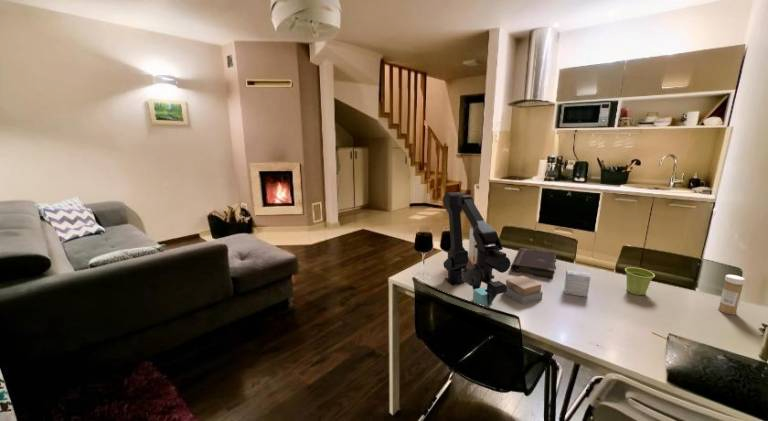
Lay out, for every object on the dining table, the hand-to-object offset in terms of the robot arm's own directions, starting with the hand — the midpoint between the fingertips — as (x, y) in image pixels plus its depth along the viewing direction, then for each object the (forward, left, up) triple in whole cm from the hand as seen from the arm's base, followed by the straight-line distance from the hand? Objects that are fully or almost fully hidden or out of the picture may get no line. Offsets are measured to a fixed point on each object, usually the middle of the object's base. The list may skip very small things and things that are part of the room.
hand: (482, 300), depth 122 cm
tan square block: (+2, +18, +2) cm, 18 cm away
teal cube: (0, 0, -1) cm, 1 cm away
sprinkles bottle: (+40, +75, -1) cm, 85 cm away
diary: (-18, +46, -2) cm, 50 cm away
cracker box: (-31, +22, -1) cm, 38 cm away
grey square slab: (+2, +18, -2) cm, 18 cm away
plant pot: (+18, +62, -1) cm, 65 cm away
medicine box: (+9, +39, -1) cm, 40 cm away
